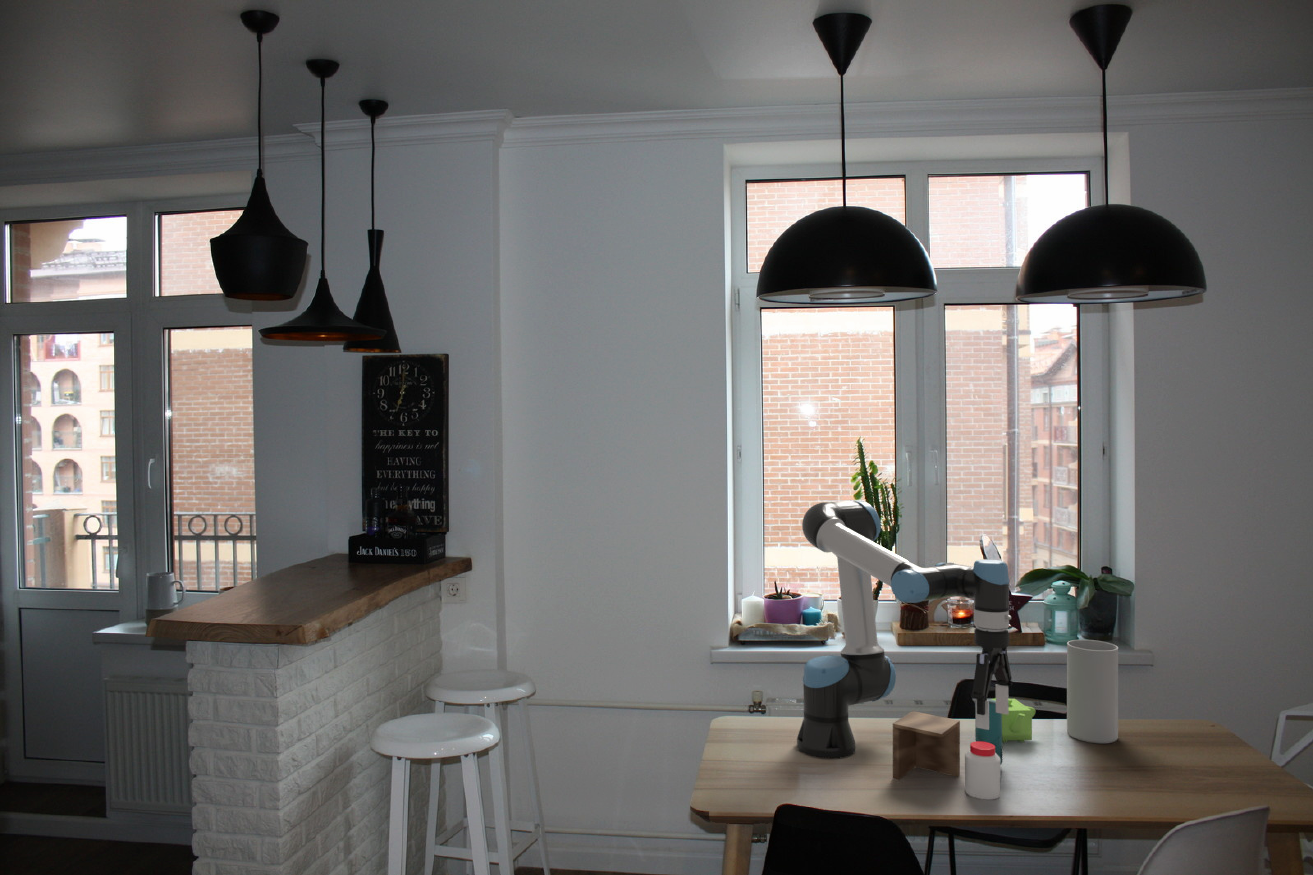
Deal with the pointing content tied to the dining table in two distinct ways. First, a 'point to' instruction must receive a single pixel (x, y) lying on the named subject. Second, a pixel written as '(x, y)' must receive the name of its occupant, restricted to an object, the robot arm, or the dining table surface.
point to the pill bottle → (982, 771)
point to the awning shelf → (926, 744)
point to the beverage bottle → (992, 726)
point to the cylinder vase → (1092, 691)
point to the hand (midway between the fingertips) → (992, 720)
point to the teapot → (1017, 722)
